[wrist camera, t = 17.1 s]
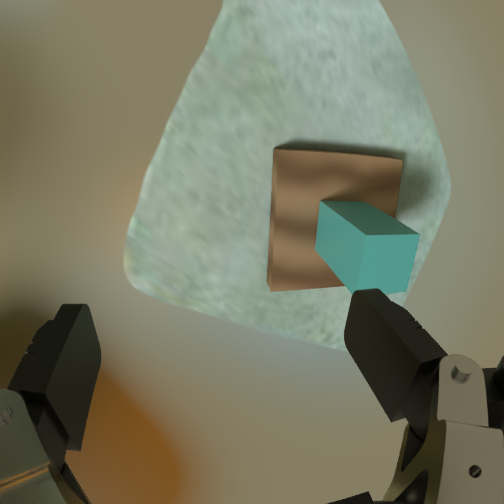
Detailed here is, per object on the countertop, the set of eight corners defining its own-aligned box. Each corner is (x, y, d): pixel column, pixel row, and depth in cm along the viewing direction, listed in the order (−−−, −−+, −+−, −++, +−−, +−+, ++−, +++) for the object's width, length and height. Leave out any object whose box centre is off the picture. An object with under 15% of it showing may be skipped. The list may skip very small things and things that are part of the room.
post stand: (273, 147, 35) (309, 162, 24) (392, 156, 37) (453, 176, 27) (266, 281, 42) (291, 339, 31) (373, 274, 44) (419, 320, 33)
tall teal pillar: (319, 200, 35) (366, 235, 25) (365, 201, 36) (419, 234, 26) (314, 249, 38) (354, 297, 28) (358, 247, 39) (406, 291, 29)
